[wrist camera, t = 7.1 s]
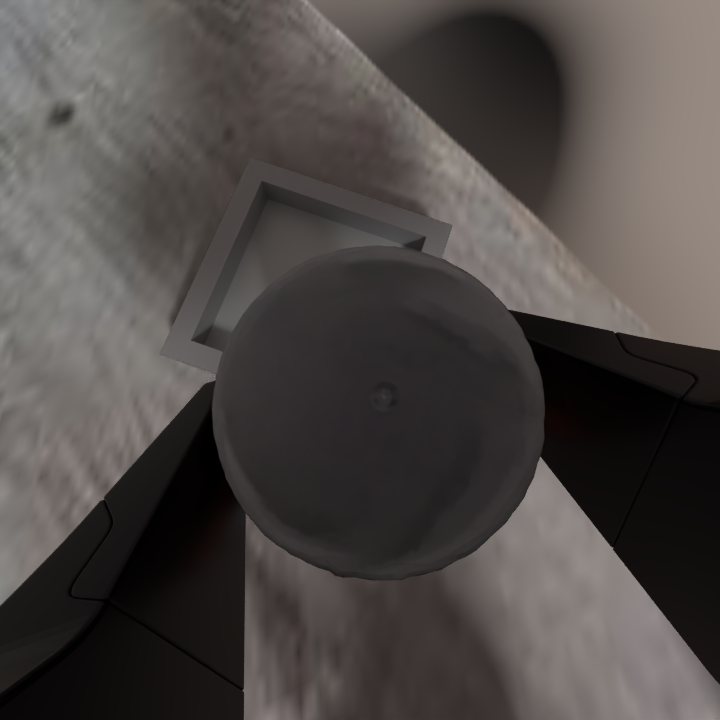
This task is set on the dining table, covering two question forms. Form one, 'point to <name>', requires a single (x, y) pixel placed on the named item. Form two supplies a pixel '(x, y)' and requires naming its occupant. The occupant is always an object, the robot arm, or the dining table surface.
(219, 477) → the robot arm
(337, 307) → the supplement bottle
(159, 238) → the dining table surface
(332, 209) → the tray
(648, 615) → the dining table surface
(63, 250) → the dining table surface
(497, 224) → the dining table surface
